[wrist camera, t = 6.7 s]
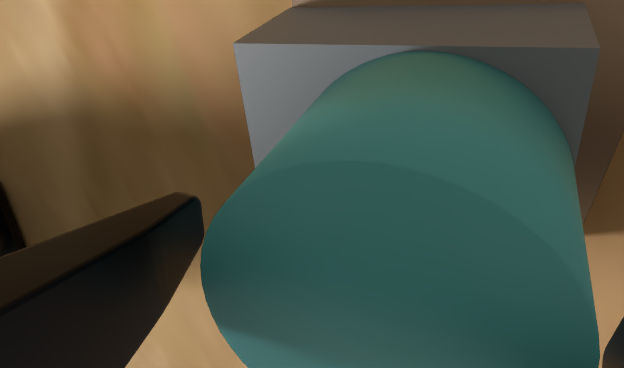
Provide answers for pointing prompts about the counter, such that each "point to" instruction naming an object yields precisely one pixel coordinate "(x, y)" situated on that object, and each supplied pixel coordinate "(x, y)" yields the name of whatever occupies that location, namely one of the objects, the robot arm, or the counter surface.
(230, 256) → the teal round block
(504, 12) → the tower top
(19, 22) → the counter surface
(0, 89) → the counter surface
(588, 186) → the tower base
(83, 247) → the robot arm
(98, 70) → the counter surface
